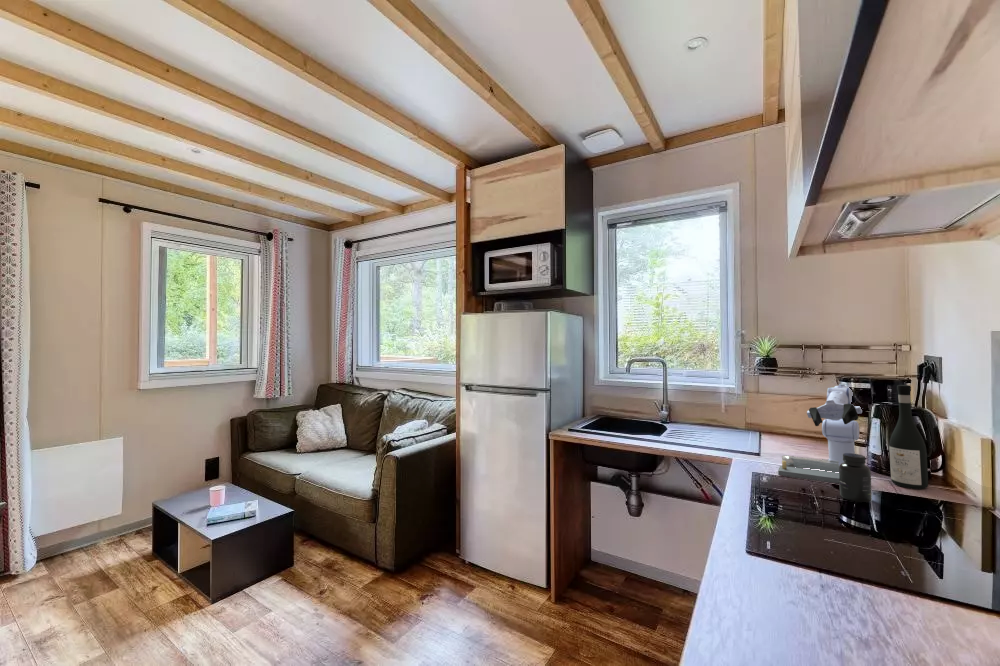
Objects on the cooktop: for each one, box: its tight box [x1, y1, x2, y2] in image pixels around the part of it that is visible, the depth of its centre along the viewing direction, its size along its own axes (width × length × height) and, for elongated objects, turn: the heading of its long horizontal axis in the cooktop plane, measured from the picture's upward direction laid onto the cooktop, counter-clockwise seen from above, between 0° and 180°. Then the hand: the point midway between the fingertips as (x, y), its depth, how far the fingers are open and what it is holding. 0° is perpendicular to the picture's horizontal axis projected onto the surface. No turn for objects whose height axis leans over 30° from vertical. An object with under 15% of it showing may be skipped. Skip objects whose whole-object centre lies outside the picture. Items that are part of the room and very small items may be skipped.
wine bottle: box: [888, 384, 929, 490], centre depth 127 cm, size 8×8×30 cm
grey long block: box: [781, 455, 839, 472], centre depth 145 cm, size 5×16×4 cm, turn 53°
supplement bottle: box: [838, 453, 873, 503], centre depth 118 cm, size 7×7×12 cm
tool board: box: [777, 460, 839, 484], centre depth 136 cm, size 7×22×4 cm, turn 52°
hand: (829, 422), depth 135 cm, fingers open, 7 cm apart
